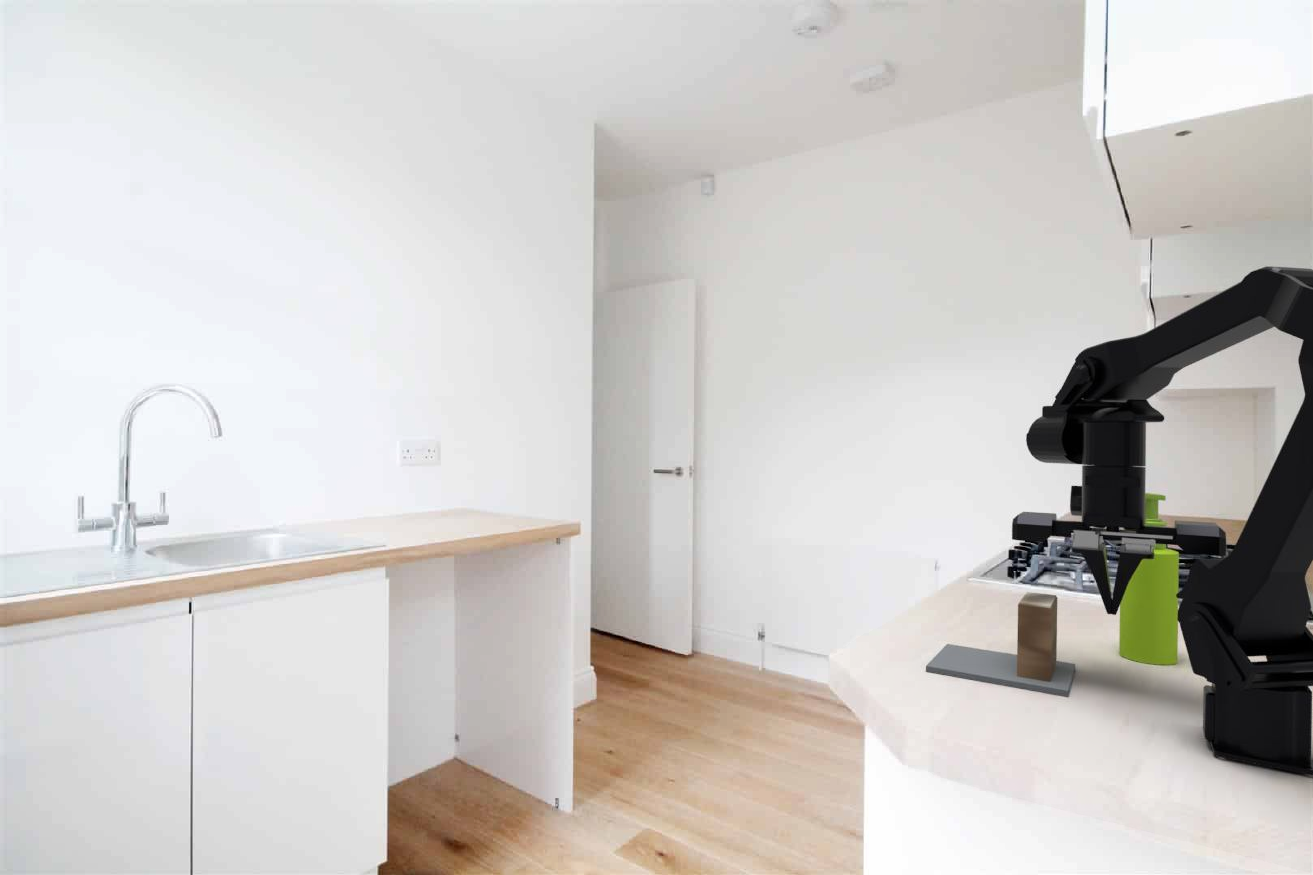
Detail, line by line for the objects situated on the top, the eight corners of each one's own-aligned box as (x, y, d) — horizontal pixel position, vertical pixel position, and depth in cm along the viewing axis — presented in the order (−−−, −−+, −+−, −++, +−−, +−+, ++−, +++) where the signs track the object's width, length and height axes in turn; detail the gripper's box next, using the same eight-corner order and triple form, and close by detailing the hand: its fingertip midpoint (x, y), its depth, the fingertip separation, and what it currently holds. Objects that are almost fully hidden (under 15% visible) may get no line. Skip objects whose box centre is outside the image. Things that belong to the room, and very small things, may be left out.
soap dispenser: (1105, 647, 94) (1107, 490, 94) (1169, 653, 91) (1171, 492, 91) (1115, 660, 88) (1117, 493, 88) (1183, 667, 86) (1186, 495, 86)
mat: (1075, 669, 85) (1075, 663, 85) (1067, 696, 75) (1067, 690, 75) (947, 648, 92) (947, 643, 92) (925, 671, 83) (926, 665, 83)
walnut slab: (1056, 665, 84) (1057, 595, 84) (1050, 682, 78) (1051, 606, 78) (1025, 660, 86) (1026, 591, 86) (1016, 676, 80) (1018, 602, 80)
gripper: (1217, 467, 80) (1215, 611, 80) (1025, 462, 90) (1023, 590, 90) (1227, 469, 70) (1225, 633, 70) (1012, 464, 81) (1010, 607, 80)
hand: (1111, 613), depth 78 cm, fingers closed
